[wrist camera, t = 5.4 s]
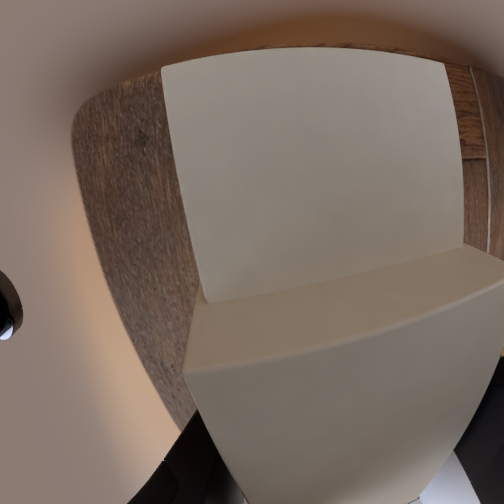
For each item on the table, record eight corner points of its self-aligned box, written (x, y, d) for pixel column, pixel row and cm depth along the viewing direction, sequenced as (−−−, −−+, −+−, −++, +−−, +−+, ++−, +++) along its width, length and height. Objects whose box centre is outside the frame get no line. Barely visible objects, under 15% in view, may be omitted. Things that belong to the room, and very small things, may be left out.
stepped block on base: (373, 426, 11) (413, 504, 6) (259, 455, 10) (273, 547, 6) (371, 79, 6) (501, 23, 2) (174, 97, 6) (94, -4, 1)
